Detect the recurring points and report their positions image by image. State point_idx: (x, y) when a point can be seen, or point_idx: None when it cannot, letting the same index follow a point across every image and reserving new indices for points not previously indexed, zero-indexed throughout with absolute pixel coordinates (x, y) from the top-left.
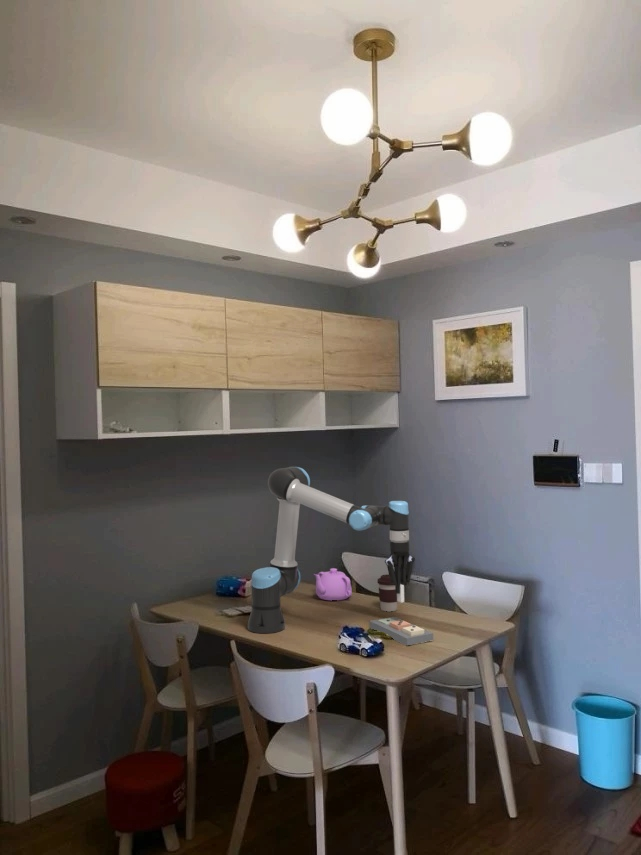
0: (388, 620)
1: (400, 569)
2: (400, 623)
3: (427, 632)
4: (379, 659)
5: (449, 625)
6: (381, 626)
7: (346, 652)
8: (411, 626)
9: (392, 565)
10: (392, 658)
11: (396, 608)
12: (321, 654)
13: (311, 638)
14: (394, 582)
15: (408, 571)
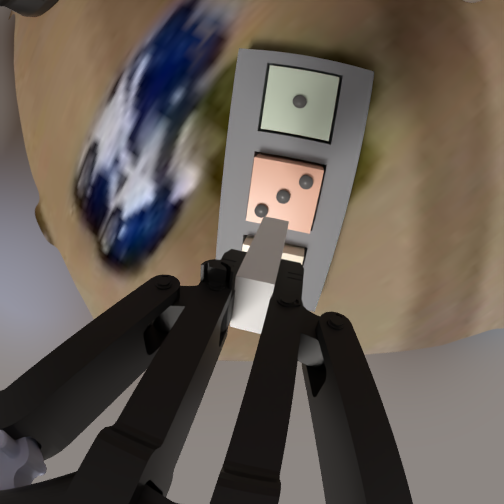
0: (296, 106)
1: (233, 434)
2: (279, 201)
3: (308, 296)
4: (120, 285)
5: (475, 234)
6: (227, 138)
7: (80, 209)
8: (283, 256)
9: (55, 450)
10: None
11: (473, 1)
12: (45, 188)
13: (64, 73)
14: (155, 330)
15: (321, 444)
